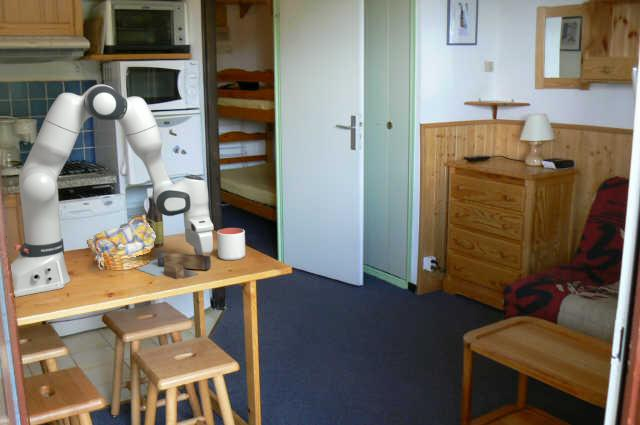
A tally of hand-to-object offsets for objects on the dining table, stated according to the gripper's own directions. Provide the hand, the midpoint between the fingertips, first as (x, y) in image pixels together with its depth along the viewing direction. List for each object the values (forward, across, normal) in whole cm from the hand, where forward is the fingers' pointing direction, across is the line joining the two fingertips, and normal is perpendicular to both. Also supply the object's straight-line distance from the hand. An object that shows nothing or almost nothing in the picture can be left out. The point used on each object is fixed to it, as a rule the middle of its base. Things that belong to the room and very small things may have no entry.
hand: (199, 259), depth 248 cm
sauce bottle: (+2, -34, -6) cm, 35 cm away
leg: (+2, -1, -6) cm, 6 cm away
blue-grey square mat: (+2, -6, -12) cm, 13 cm away
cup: (+3, -5, +14) cm, 15 cm away
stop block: (+2, +6, -9) cm, 11 cm away
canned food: (+2, -28, -17) cm, 33 cm away
